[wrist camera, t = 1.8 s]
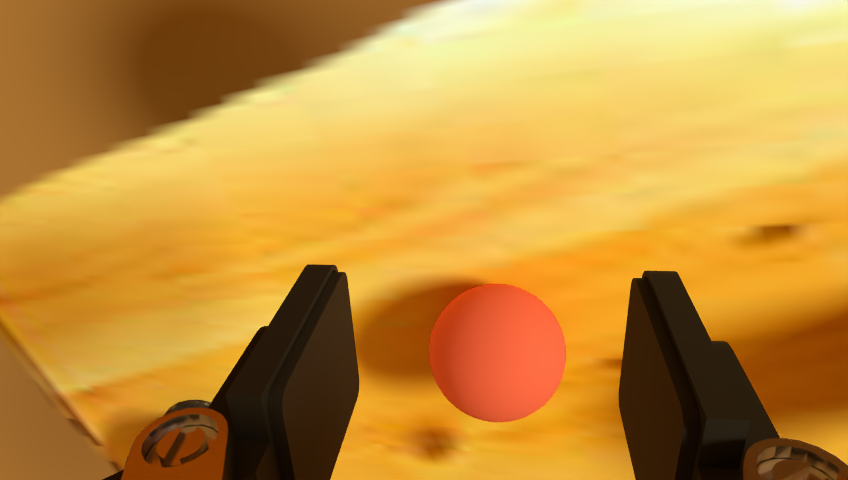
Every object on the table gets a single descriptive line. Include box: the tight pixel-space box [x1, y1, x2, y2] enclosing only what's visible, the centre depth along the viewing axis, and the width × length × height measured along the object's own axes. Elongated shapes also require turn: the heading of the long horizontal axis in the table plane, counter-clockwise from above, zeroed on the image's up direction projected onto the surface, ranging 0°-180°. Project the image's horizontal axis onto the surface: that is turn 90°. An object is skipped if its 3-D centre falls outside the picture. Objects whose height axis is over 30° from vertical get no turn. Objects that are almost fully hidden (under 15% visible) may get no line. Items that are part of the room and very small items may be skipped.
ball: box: [429, 284, 566, 422], centre depth 27 cm, size 6×6×6 cm
